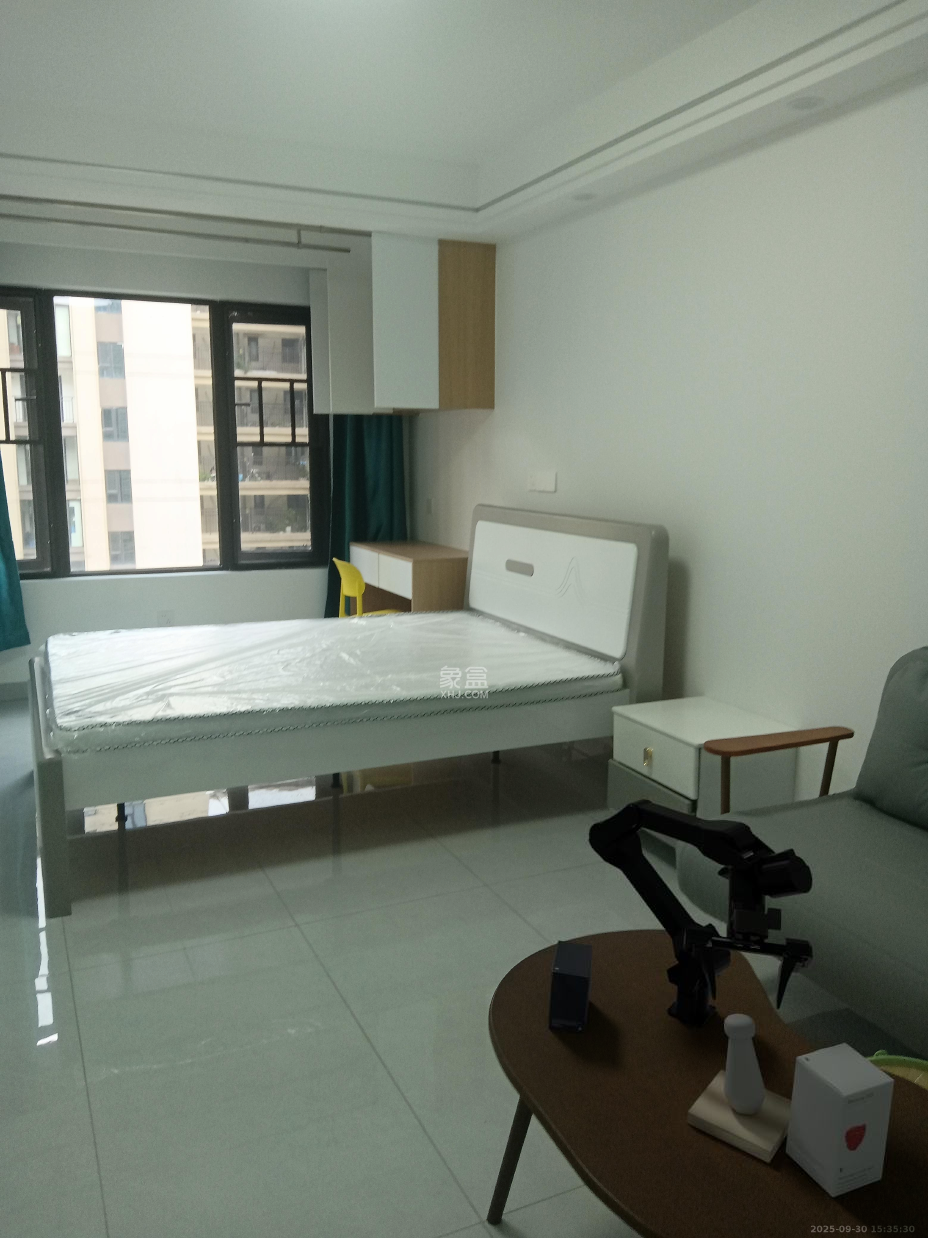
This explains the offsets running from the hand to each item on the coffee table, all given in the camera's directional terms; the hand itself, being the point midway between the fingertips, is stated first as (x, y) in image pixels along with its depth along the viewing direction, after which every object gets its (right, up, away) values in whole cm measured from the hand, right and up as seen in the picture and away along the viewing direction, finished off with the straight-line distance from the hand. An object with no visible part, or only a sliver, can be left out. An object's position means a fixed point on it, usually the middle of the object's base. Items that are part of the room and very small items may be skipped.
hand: (745, 1004), depth 141 cm
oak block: (-2, -15, -5) cm, 16 cm away
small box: (-24, -10, +20) cm, 33 cm away
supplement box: (+8, -17, -13) cm, 23 cm away
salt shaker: (-2, -13, -5) cm, 14 cm away
